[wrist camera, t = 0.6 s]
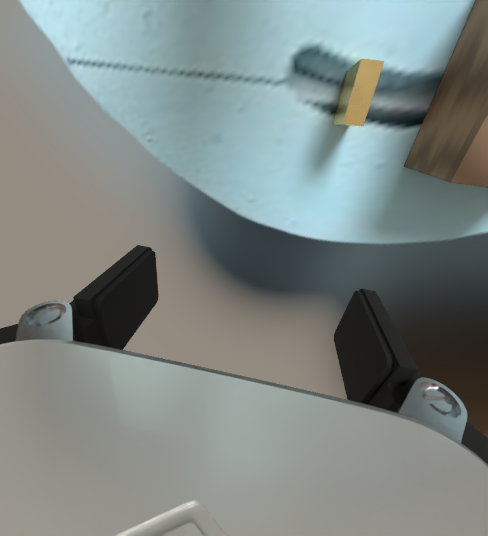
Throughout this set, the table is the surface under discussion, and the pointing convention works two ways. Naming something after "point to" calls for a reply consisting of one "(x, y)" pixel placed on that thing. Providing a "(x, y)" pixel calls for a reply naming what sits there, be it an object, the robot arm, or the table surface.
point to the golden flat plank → (357, 92)
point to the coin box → (459, 112)
